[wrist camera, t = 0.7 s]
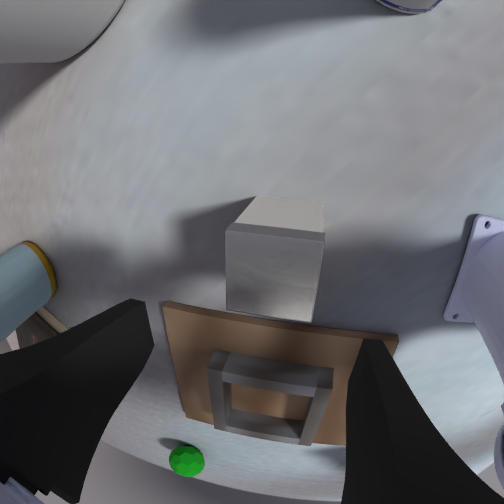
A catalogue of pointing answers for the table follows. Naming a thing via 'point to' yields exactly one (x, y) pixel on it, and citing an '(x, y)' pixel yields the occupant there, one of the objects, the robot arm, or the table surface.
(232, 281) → the plug
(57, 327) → the hardcover book
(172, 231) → the table surface
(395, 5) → the energy drink
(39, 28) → the cylinder vase
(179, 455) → the polyhedron
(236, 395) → the socket
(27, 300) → the bottle
